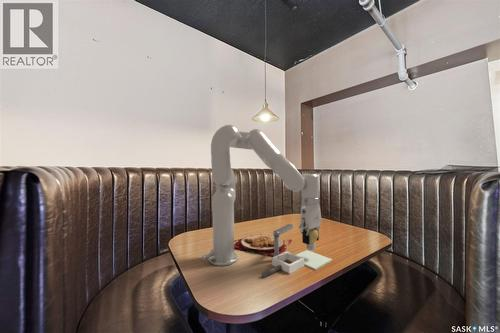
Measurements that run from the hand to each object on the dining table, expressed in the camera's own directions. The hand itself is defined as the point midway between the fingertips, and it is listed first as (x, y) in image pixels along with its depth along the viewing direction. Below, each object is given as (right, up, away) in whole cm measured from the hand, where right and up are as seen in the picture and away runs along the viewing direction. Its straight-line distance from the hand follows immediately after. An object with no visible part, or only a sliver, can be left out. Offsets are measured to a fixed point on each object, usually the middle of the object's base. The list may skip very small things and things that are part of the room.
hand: (310, 241), depth 87 cm
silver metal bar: (-11, +3, +5) cm, 13 cm away
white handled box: (-16, -8, -8) cm, 19 cm away
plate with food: (-21, -9, +18) cm, 29 cm away
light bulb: (0, -4, 0) cm, 4 cm away
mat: (0, -8, 0) cm, 8 cm away
